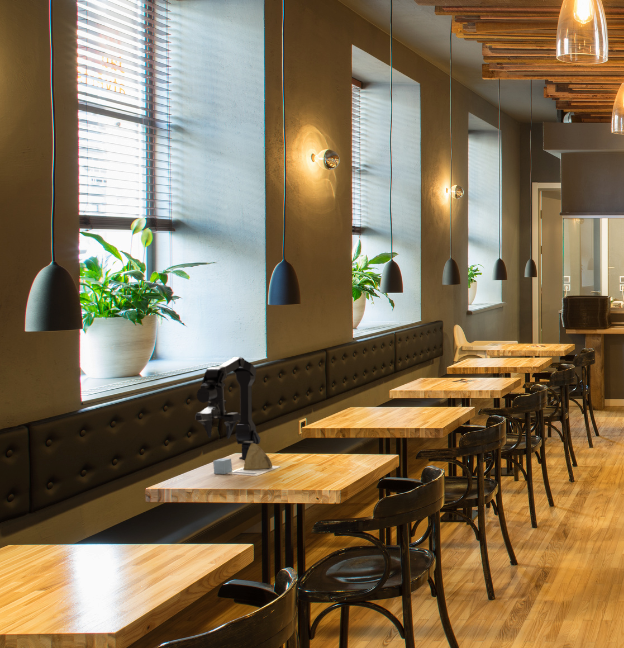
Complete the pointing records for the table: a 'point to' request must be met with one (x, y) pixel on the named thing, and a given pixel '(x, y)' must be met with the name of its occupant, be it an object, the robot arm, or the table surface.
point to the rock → (256, 458)
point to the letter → (252, 471)
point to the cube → (222, 466)
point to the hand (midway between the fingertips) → (218, 437)
